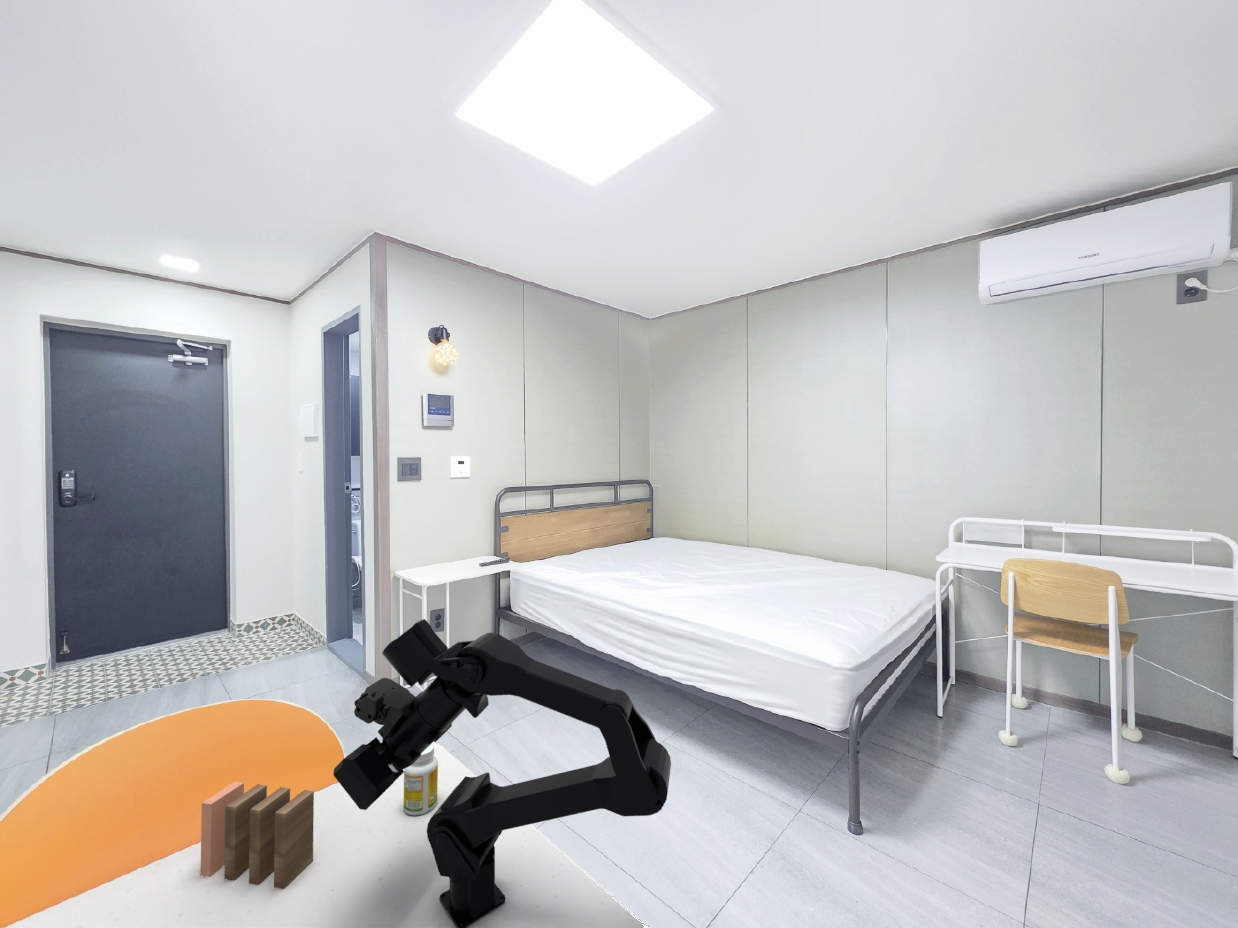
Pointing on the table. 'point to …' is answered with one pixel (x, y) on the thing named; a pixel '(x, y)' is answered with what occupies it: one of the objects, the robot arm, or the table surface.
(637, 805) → the robot arm
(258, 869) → the domino
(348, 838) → the table surface
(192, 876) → the table surface
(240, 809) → the domino
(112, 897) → the table surface
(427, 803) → the supplement bottle
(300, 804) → the domino
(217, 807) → the domino
